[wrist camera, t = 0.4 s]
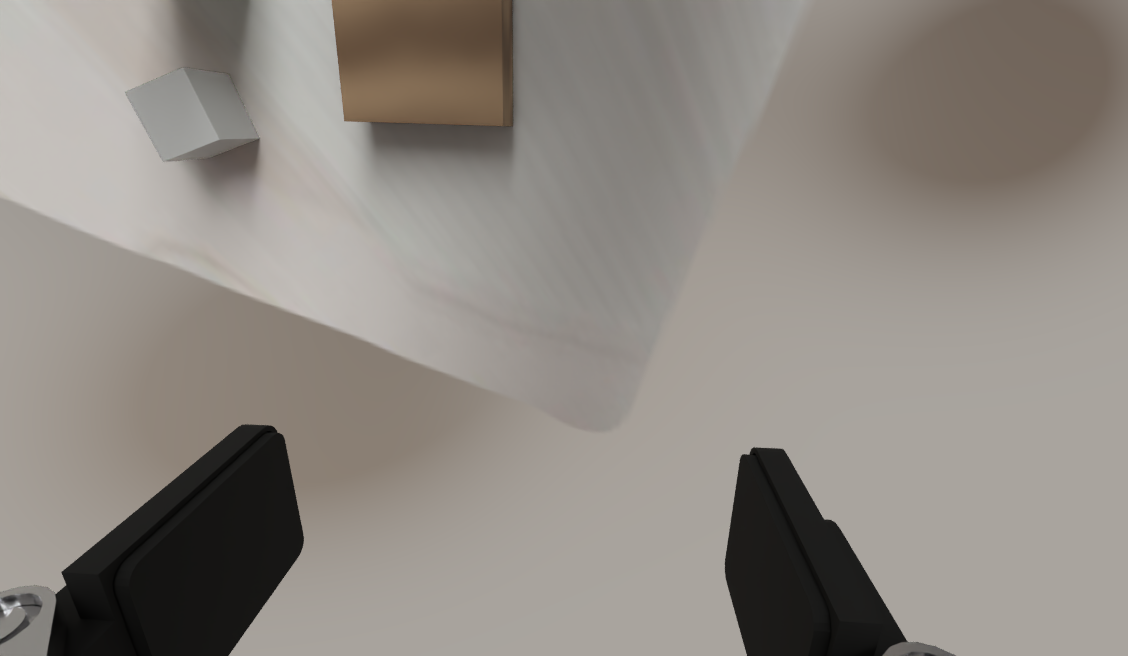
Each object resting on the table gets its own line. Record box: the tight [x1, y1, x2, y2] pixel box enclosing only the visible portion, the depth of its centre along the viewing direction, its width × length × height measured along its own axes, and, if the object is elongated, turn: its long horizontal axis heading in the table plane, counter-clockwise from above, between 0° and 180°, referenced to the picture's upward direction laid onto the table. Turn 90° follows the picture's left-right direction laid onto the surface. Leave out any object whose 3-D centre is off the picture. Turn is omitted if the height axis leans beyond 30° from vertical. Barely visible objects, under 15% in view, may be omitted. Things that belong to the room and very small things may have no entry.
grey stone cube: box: [125, 67, 260, 162], centre depth 36 cm, size 4×4×4 cm
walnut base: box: [332, 0, 513, 126], centre depth 34 cm, size 10×10×4 cm
